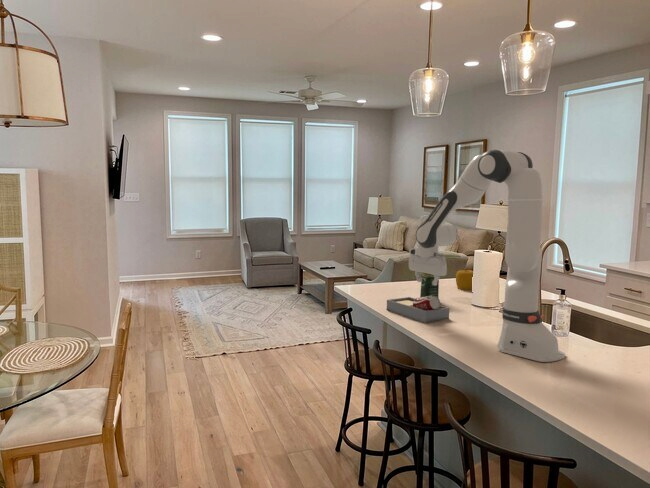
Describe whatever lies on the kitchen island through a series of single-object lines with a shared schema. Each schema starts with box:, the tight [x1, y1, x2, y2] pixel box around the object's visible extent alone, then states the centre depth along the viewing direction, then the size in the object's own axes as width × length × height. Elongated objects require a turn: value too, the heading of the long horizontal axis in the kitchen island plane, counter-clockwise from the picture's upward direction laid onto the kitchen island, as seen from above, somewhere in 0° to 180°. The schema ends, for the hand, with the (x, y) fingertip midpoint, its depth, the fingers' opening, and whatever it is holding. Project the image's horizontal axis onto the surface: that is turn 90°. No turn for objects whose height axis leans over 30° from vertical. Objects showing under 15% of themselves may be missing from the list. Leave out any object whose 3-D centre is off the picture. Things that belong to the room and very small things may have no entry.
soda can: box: [413, 295, 441, 311], centre depth 213 cm, size 7×7×12 cm
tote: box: [386, 296, 450, 324], centre depth 219 cm, size 26×14×5 cm, turn 32°
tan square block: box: [398, 300, 413, 307], centre depth 224 cm, size 9×9×3 cm
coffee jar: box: [419, 272, 440, 298], centre depth 242 cm, size 10×8×19 cm
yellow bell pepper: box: [455, 269, 474, 291], centre depth 272 cm, size 11×11×13 cm
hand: (426, 283), depth 213 cm, fingers open, 8 cm apart
